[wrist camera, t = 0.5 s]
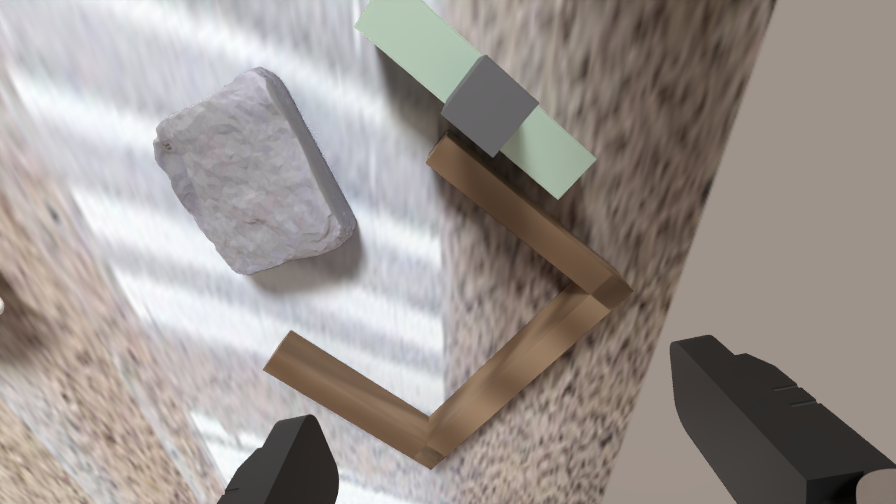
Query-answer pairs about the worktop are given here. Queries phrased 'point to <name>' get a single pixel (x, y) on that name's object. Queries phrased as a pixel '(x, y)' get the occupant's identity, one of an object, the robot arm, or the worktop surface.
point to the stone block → (253, 175)
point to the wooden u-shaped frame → (509, 367)
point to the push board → (446, 67)
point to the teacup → (1, 306)
